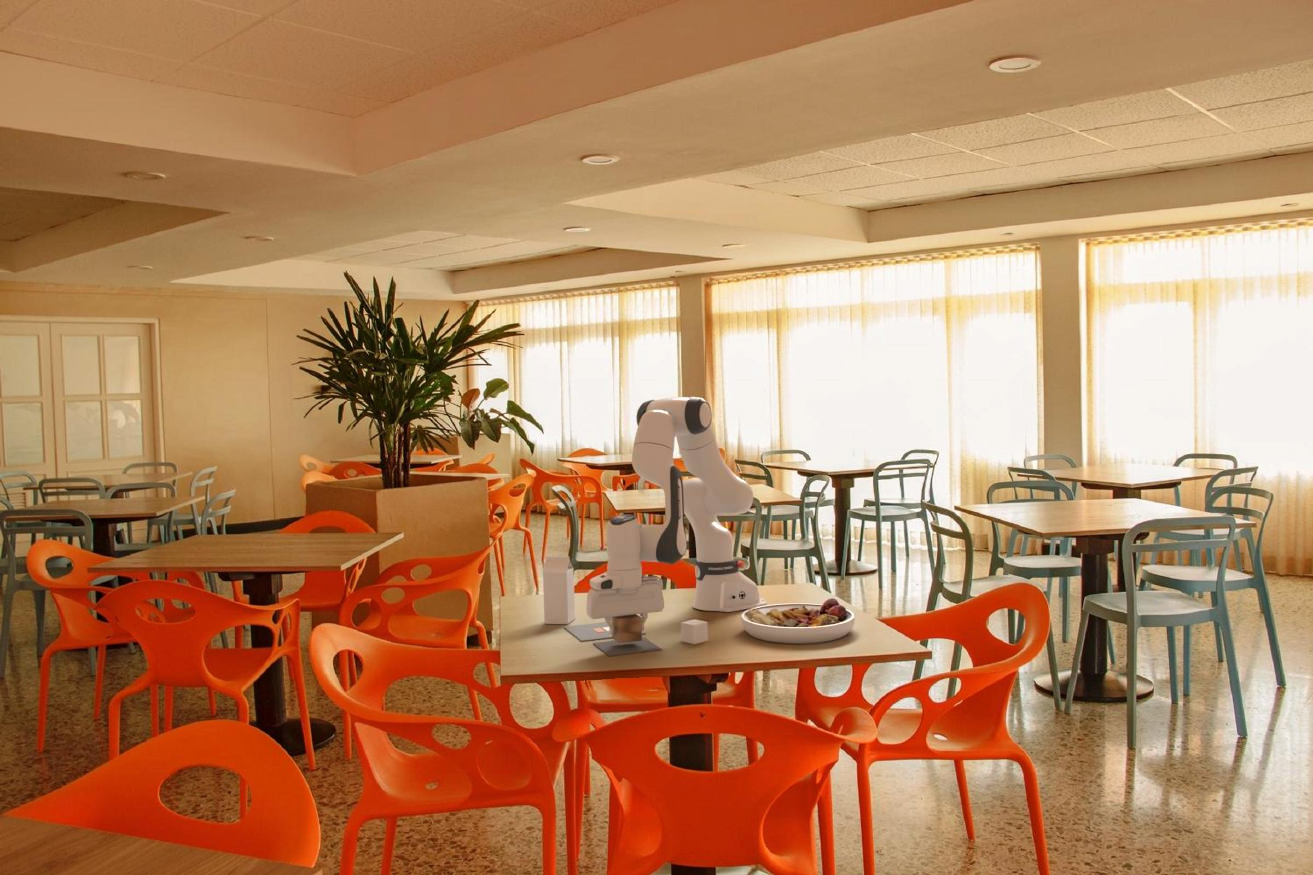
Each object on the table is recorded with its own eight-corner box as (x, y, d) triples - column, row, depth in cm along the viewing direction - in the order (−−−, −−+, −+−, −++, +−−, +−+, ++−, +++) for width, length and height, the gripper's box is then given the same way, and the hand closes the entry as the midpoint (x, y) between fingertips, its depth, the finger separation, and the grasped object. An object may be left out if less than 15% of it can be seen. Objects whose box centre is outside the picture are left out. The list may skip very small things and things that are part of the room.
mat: (643, 637, 267) (643, 636, 267) (662, 649, 253) (661, 648, 253) (593, 644, 262) (593, 642, 262) (609, 656, 249) (609, 655, 249)
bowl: (790, 653, 247) (789, 621, 247) (719, 631, 273) (718, 602, 272) (878, 634, 263) (878, 605, 263) (803, 615, 288) (803, 588, 288)
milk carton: (568, 624, 285) (565, 558, 285) (544, 624, 287) (542, 558, 286) (575, 619, 292) (573, 554, 291) (551, 618, 294) (549, 554, 293)
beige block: (695, 637, 265) (694, 619, 265) (708, 640, 262) (707, 621, 261) (681, 641, 262) (680, 622, 262) (694, 644, 258) (693, 625, 258)
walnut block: (634, 635, 261) (633, 612, 261) (641, 640, 256) (641, 617, 256) (612, 638, 259) (611, 615, 259) (619, 643, 254) (618, 619, 253)
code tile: (624, 620, 288) (624, 619, 288) (645, 634, 271) (645, 632, 271) (563, 627, 282) (563, 626, 282) (581, 641, 265) (581, 640, 265)
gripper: (658, 572, 263) (660, 625, 264) (583, 580, 256) (585, 633, 257) (666, 576, 258) (668, 629, 258) (590, 584, 250) (592, 639, 251)
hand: (626, 632), depth 257 cm, fingers closed on walnut block, 6 cm apart
